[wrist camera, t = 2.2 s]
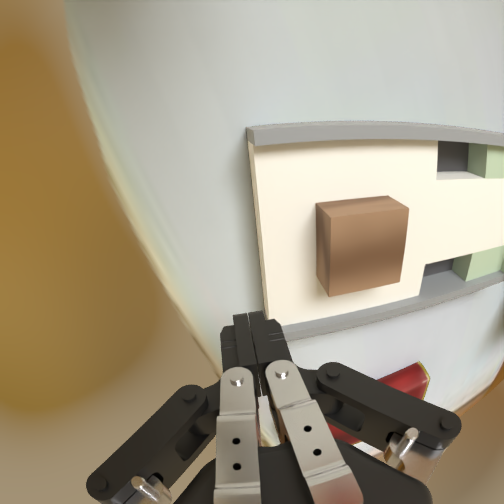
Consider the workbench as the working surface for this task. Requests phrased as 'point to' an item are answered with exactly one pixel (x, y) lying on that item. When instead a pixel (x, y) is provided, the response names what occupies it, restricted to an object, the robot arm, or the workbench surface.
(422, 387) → the hardcover book
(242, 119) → the workbench surface
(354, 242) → the walnut block
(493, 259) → the box
